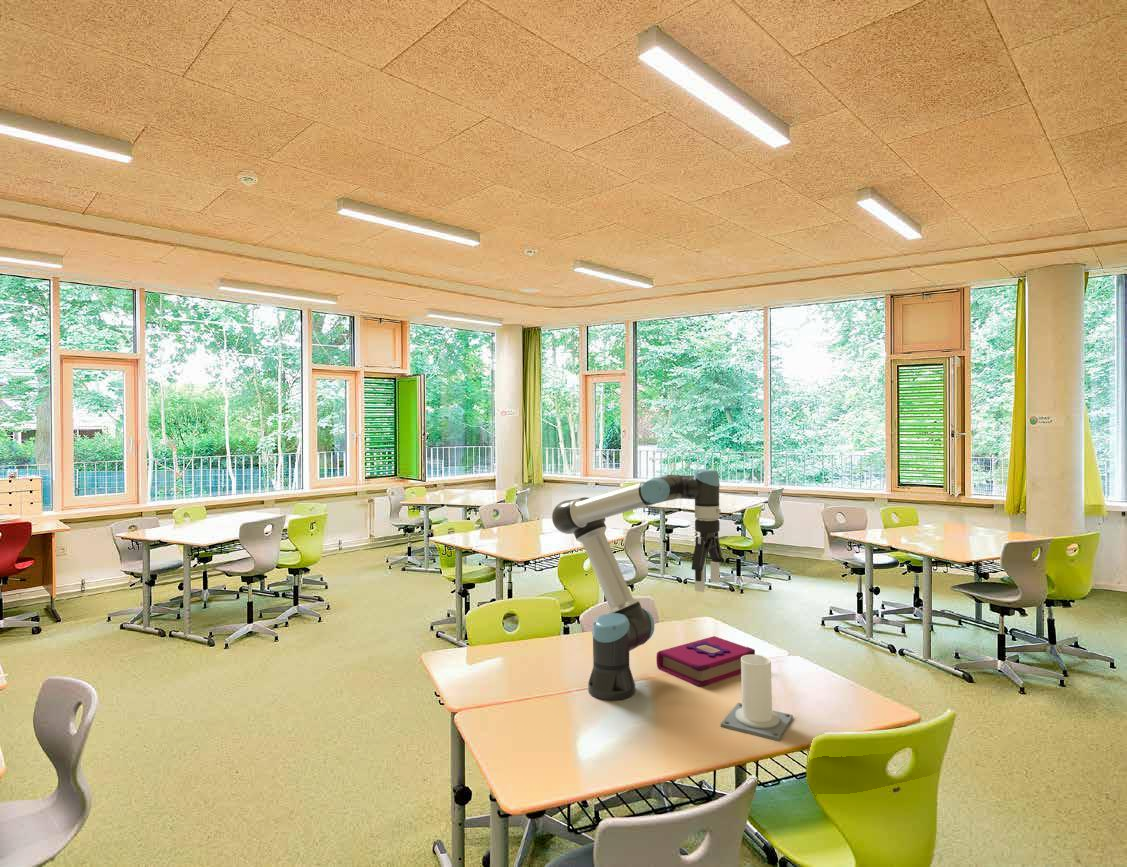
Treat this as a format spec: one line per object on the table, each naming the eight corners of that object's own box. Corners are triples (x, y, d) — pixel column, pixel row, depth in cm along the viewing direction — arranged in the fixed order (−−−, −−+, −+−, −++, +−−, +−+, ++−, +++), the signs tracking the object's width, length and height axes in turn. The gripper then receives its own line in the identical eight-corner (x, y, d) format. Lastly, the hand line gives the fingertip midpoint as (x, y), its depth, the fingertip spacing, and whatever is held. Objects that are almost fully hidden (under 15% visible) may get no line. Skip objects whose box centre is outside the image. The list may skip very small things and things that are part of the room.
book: (656, 669, 221) (656, 648, 221) (711, 653, 236) (711, 633, 237) (700, 689, 203) (700, 665, 203) (756, 670, 219) (756, 648, 219)
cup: (770, 710, 182) (768, 655, 182) (774, 723, 174) (772, 665, 174) (741, 708, 184) (739, 653, 184) (743, 721, 176) (742, 663, 176)
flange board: (720, 726, 176) (720, 720, 176) (738, 705, 190) (738, 699, 190) (779, 740, 168) (778, 734, 168) (792, 717, 181) (792, 711, 181)
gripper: (704, 525, 184) (704, 597, 184) (731, 515, 205) (732, 580, 205) (680, 523, 188) (680, 593, 188) (709, 513, 209) (710, 577, 209)
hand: (707, 586), depth 197 cm, fingers open, 13 cm apart
